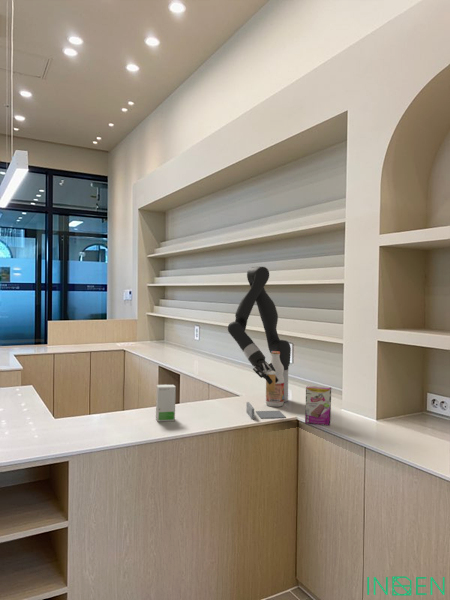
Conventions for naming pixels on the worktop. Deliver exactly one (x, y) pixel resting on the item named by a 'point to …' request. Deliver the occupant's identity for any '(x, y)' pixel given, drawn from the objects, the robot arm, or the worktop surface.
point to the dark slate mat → (270, 414)
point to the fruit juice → (276, 396)
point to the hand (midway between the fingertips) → (274, 382)
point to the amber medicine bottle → (272, 375)
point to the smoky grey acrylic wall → (250, 410)
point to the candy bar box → (318, 405)
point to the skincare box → (165, 403)
